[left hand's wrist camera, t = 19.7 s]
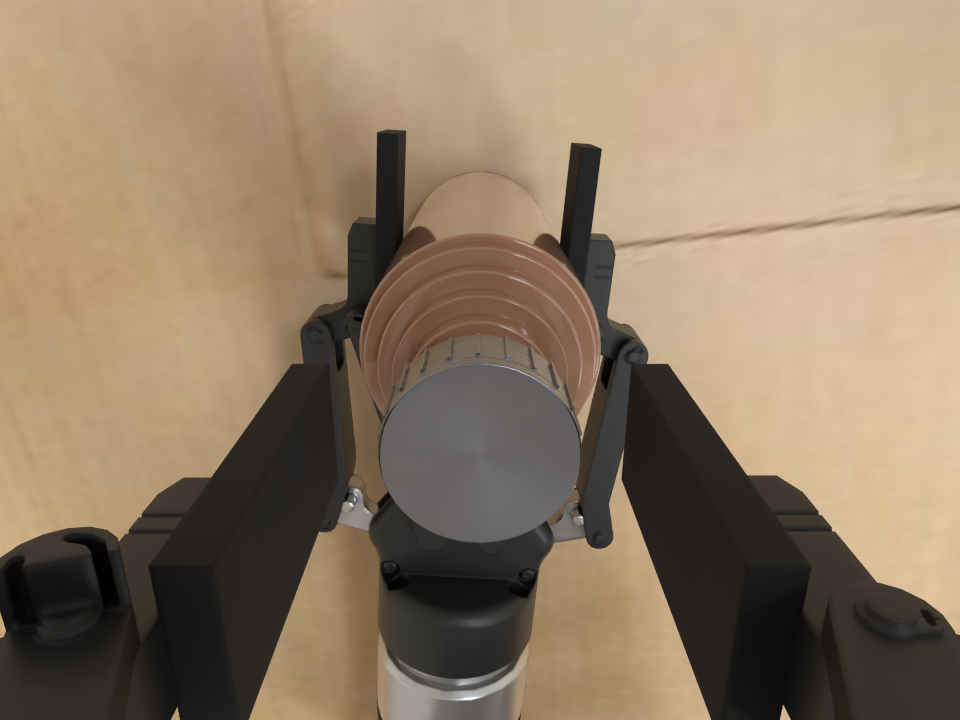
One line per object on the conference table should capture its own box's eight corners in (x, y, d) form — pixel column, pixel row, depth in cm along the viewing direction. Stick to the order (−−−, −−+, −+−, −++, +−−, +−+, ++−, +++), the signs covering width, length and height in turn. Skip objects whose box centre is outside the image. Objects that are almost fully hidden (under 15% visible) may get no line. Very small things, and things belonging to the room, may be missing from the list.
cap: (368, 347, 14) (353, 378, 13) (562, 318, 14) (572, 345, 12) (406, 511, 15) (397, 557, 14) (583, 486, 15) (595, 530, 14)
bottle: (527, 318, 35) (588, 603, 15) (400, 288, 34) (294, 543, 15) (563, 191, 32) (690, 330, 13) (428, 156, 32) (347, 247, 12)
